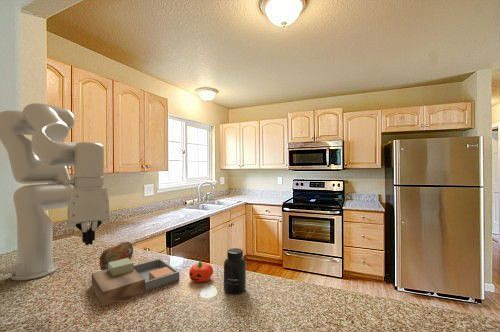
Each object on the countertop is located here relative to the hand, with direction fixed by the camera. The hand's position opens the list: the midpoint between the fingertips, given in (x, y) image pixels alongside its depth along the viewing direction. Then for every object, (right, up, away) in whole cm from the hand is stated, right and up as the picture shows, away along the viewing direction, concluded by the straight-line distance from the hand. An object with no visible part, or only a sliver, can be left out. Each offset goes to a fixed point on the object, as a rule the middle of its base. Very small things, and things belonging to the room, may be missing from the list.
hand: (88, 243), depth 73 cm
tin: (-2, -15, +19) cm, 24 cm away
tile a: (+20, -12, +7) cm, 24 cm away
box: (+16, -15, +9) cm, 24 cm away
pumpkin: (+33, -15, +8) cm, 37 cm away
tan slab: (+8, -15, +2) cm, 17 cm away
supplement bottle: (+44, -15, +1) cm, 47 cm away
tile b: (+7, -11, +6) cm, 14 cm away
